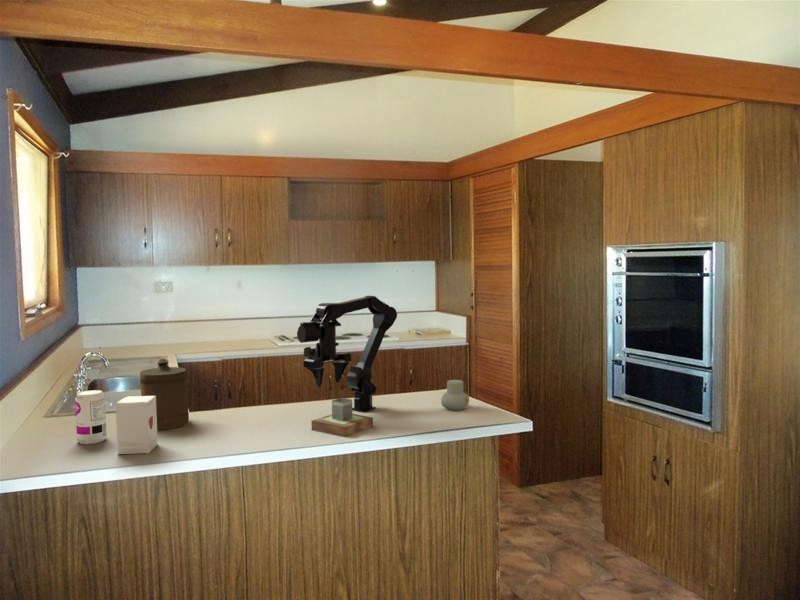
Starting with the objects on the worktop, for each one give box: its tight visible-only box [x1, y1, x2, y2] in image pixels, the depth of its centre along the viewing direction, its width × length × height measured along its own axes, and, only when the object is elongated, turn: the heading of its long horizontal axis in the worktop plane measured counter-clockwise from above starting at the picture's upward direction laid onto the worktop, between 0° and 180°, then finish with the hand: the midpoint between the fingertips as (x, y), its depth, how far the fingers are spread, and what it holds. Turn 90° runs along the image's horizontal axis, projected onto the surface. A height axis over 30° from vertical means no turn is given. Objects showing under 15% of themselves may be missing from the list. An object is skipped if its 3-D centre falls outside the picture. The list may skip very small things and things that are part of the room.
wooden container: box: [139, 358, 190, 431], centre depth 212 cm, size 15×15×22 cm
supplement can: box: [74, 389, 108, 445], centre depth 194 cm, size 8×8×15 cm
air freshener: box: [440, 379, 470, 411], centre depth 229 cm, size 11×8×10 cm
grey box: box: [331, 397, 353, 421], centre depth 205 cm, size 5×5×6 cm
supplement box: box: [115, 395, 159, 455], centre depth 185 cm, size 9×9×15 cm
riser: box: [311, 413, 374, 438], centre depth 205 cm, size 14×14×3 cm
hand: (328, 384), depth 220 cm, fingers open, 9 cm apart
